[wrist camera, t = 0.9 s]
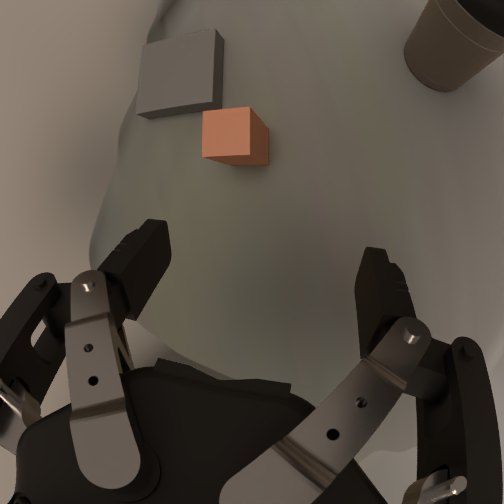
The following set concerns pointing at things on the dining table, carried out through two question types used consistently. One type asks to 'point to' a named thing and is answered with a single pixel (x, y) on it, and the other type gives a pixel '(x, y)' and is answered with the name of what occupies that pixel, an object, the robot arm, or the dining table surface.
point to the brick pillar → (235, 137)
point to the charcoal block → (181, 75)
